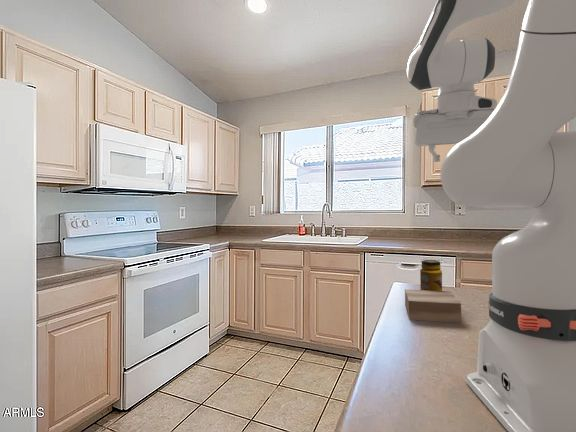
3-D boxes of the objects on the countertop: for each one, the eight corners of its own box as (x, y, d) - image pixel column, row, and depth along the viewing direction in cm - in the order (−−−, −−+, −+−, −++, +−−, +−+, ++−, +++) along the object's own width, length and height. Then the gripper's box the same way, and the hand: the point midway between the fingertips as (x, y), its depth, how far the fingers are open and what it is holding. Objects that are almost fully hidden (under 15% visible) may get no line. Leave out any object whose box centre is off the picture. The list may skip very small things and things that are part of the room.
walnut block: (461, 324, 80) (461, 303, 80) (409, 320, 83) (408, 300, 83) (450, 309, 91) (450, 291, 91) (405, 306, 94) (404, 289, 94)
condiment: (448, 302, 96) (448, 262, 96) (421, 304, 95) (421, 263, 95) (434, 296, 103) (433, 258, 103) (409, 297, 102) (408, 259, 102)
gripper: (414, 108, 85) (414, 161, 86) (504, 99, 79) (504, 156, 80) (412, 114, 91) (412, 164, 92) (495, 106, 85) (495, 159, 86)
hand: (456, 160), depth 86 cm, fingers open, 8 cm apart
